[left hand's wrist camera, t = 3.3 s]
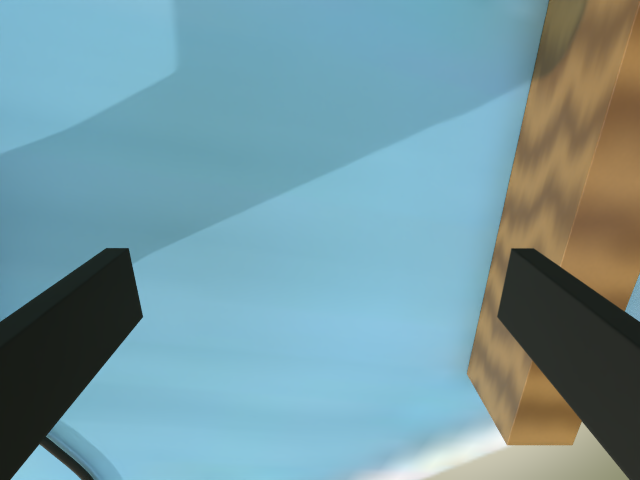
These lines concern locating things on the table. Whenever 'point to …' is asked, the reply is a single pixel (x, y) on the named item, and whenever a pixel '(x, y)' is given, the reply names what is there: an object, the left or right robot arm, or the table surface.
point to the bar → (567, 200)
